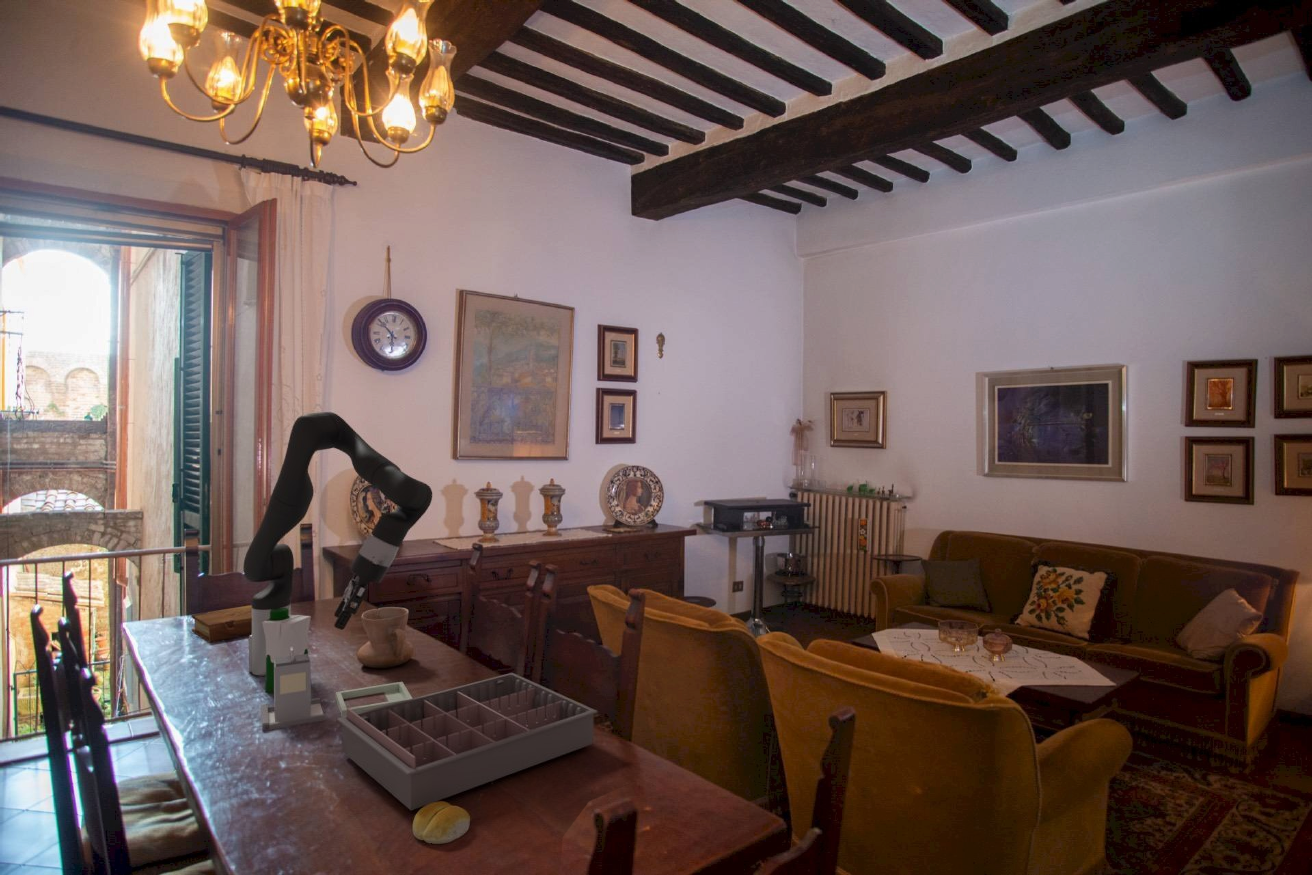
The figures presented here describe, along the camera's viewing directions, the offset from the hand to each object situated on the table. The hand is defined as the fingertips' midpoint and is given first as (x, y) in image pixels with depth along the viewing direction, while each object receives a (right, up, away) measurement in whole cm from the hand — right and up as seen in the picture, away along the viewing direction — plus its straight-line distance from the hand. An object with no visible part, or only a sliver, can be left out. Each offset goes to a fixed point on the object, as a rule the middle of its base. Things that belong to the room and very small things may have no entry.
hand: (338, 622), depth 168 cm
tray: (+6, -21, +4) cm, 22 cm away
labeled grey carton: (-8, -20, -4) cm, 22 cm away
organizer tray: (+35, -21, -20) cm, 45 cm away
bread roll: (+37, -22, -48) cm, 65 cm away
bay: (-8, -21, -4) cm, 23 cm away
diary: (-60, -20, +69) cm, 94 cm away
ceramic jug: (-2, -20, +35) cm, 40 cm away
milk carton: (-18, -21, +14) cm, 31 cm away
